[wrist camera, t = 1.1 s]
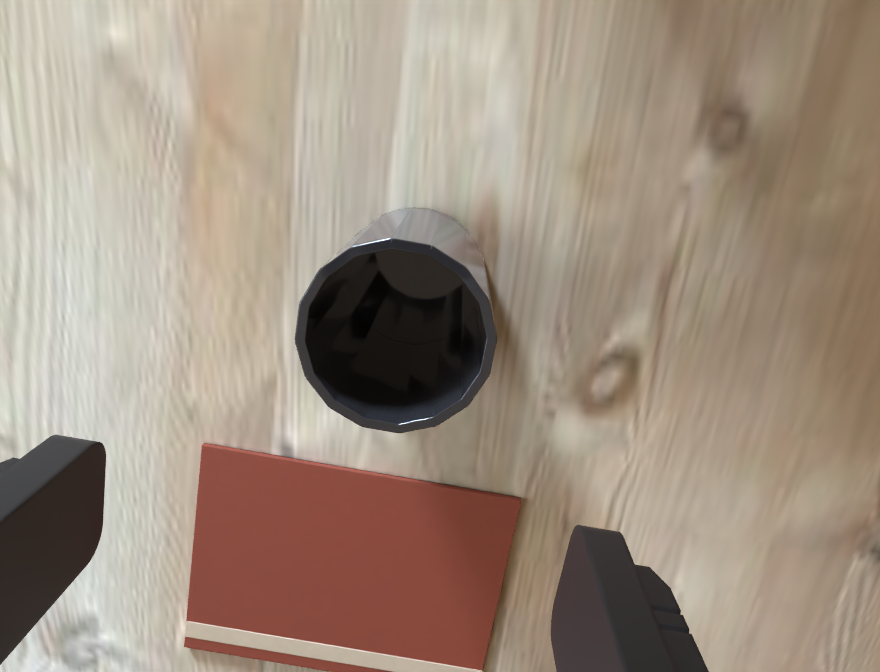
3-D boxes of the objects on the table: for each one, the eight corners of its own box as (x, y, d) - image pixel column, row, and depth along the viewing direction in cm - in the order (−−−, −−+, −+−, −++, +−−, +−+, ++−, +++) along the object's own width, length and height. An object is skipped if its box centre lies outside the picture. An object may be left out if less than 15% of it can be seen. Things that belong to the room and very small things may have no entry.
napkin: (521, 497, 36) (521, 501, 35) (476, 692, 39) (476, 697, 39) (203, 442, 35) (201, 445, 35) (186, 643, 39) (183, 647, 38)
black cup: (498, 221, 32) (513, 259, 22) (472, 357, 34) (475, 447, 24) (355, 195, 32) (308, 223, 22) (336, 333, 34) (285, 414, 24)
